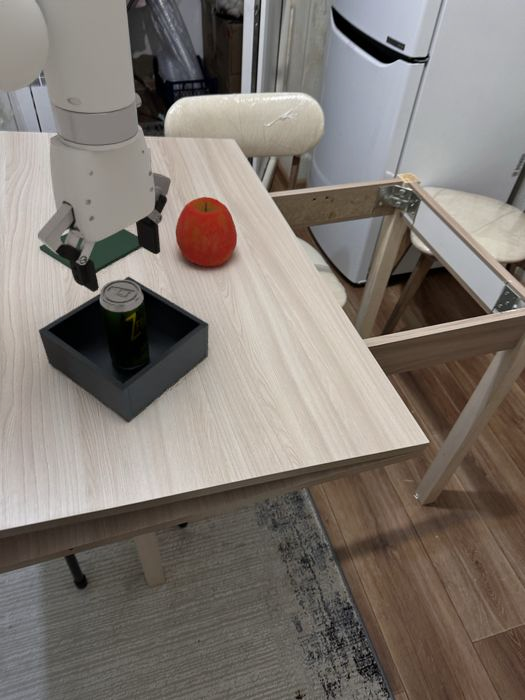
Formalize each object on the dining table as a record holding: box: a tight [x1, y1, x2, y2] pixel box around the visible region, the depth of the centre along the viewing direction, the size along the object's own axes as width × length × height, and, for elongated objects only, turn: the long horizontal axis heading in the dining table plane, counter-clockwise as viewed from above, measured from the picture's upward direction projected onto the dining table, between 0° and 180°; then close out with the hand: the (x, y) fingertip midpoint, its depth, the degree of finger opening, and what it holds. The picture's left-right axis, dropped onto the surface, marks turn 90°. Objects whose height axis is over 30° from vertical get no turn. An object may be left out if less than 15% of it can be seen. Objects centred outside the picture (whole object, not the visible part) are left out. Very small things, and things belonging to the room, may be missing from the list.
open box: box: [38, 276, 210, 423], centre depth 67 cm, size 16×16×6 cm
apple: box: [175, 196, 238, 268], centre depth 85 cm, size 11×11×11 cm
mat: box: [39, 228, 142, 273], centre depth 87 cm, size 14×12×1 cm
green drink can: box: [99, 279, 149, 370], centre depth 65 cm, size 5×5×12 cm
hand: (120, 266), depth 58 cm, fingers open, 9 cm apart
